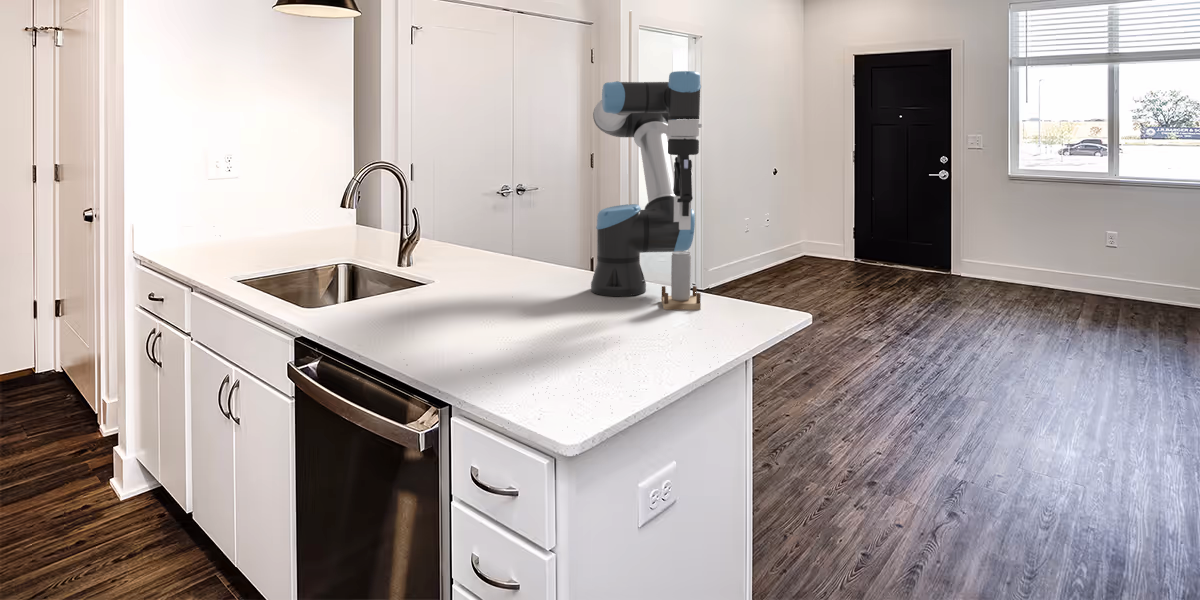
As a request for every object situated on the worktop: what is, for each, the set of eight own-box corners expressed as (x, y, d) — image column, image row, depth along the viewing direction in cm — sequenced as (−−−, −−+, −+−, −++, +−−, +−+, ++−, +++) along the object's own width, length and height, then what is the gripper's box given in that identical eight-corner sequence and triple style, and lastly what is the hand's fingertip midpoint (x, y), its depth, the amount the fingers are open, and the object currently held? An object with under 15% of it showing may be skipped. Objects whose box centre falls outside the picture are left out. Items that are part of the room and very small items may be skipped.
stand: (664, 309, 189) (664, 293, 188) (661, 301, 198) (661, 286, 197) (700, 309, 189) (700, 293, 188) (696, 301, 198) (696, 286, 197)
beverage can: (675, 302, 190) (675, 254, 188) (668, 298, 195) (668, 251, 192) (693, 300, 192) (694, 253, 189) (685, 296, 196) (686, 250, 193)
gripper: (705, 139, 172) (703, 232, 177) (692, 136, 196) (691, 218, 201) (672, 139, 172) (671, 233, 177) (663, 136, 196) (662, 218, 201)
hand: (681, 225), depth 189 cm, fingers open, 13 cm apart
